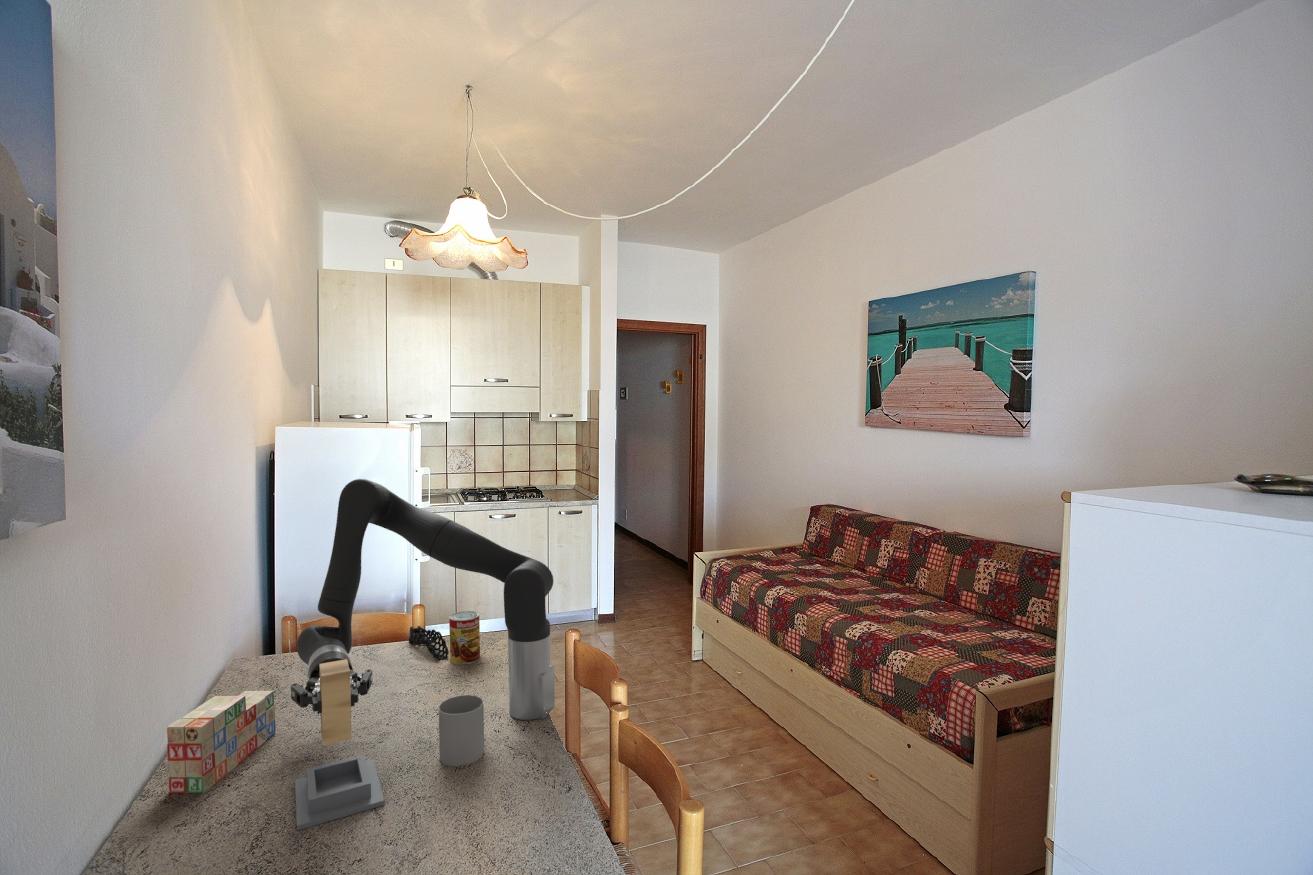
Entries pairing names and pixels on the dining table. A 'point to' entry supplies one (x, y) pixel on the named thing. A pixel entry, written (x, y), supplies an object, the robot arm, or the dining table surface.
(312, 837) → the dining table surface
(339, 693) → the wooden block
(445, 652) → the decorative element
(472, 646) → the canned food
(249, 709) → the stack of blocks
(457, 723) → the cup
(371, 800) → the grey socket base
